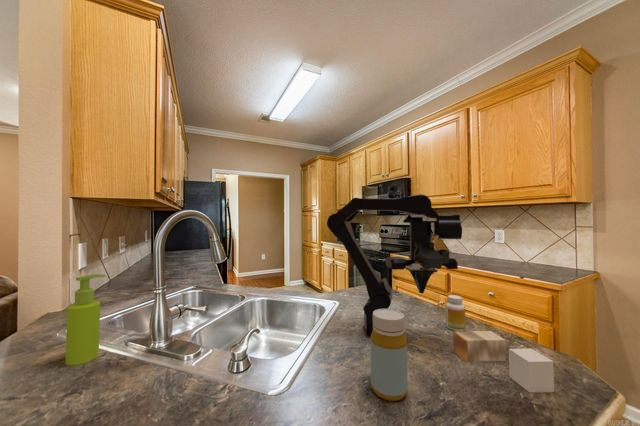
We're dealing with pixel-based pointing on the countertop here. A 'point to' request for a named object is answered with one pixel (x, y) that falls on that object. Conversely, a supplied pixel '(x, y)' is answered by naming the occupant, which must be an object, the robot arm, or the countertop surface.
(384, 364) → the bottle
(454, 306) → the supplement bottle
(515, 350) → the grey block
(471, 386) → the countertop surface
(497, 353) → the birch block
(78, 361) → the soap dispenser
